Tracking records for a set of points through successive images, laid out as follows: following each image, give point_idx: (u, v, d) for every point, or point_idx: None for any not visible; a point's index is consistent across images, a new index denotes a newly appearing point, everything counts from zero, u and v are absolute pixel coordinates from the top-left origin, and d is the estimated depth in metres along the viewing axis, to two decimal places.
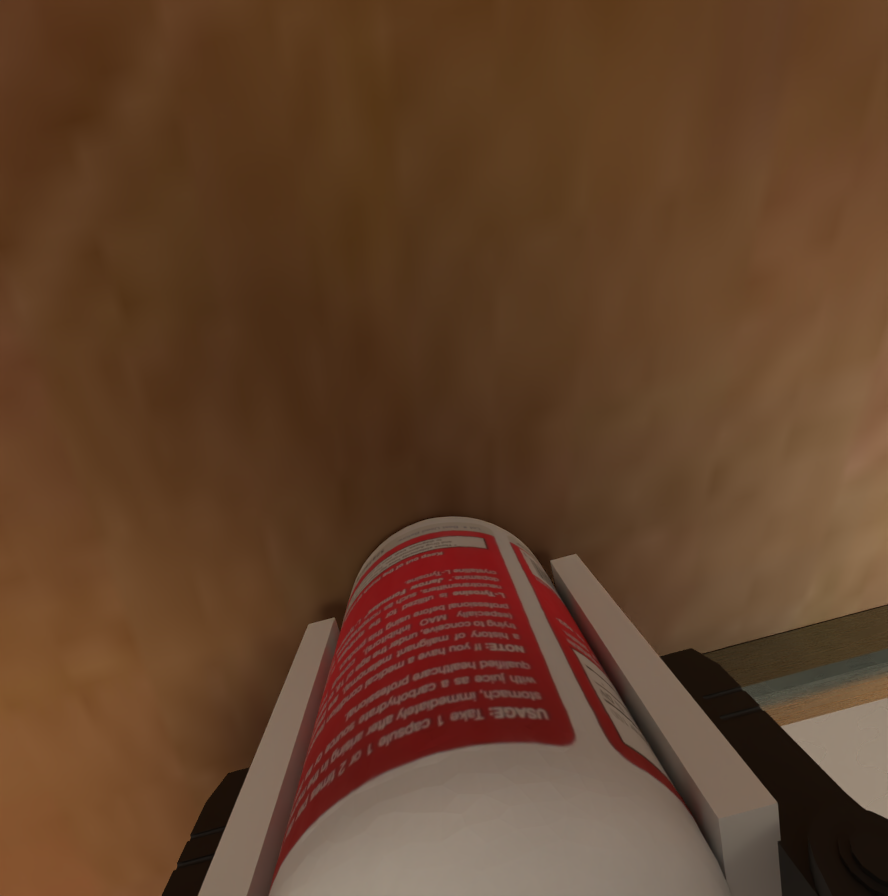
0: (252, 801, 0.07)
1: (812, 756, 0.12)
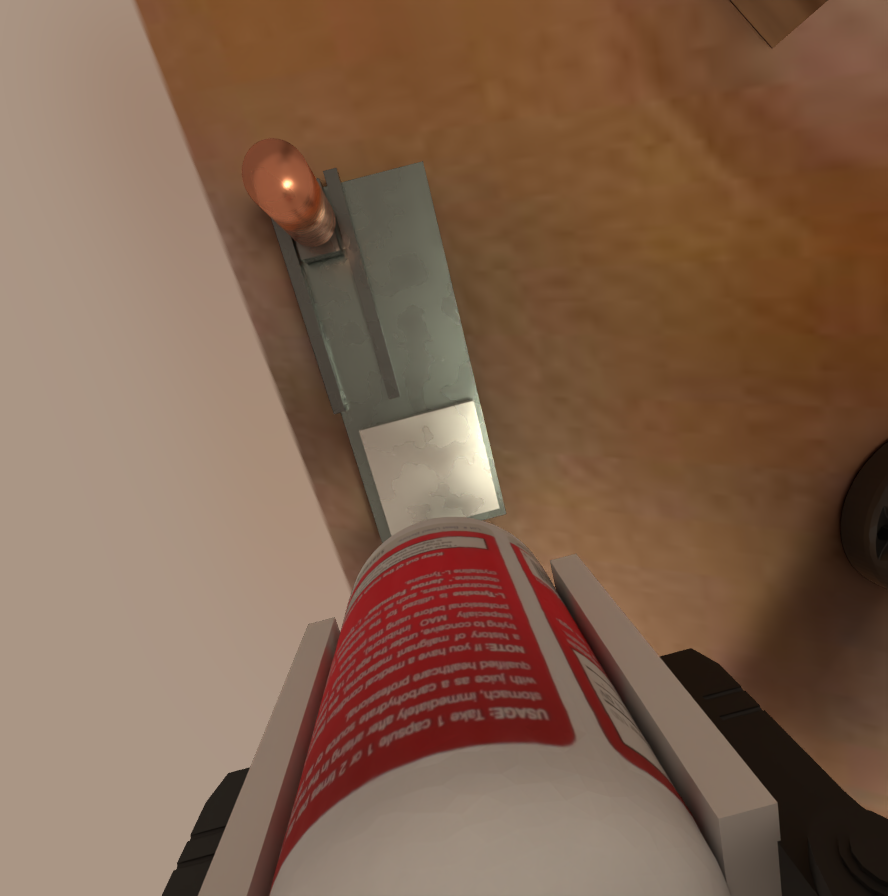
0: (252, 801, 0.07)
1: (461, 437, 0.28)
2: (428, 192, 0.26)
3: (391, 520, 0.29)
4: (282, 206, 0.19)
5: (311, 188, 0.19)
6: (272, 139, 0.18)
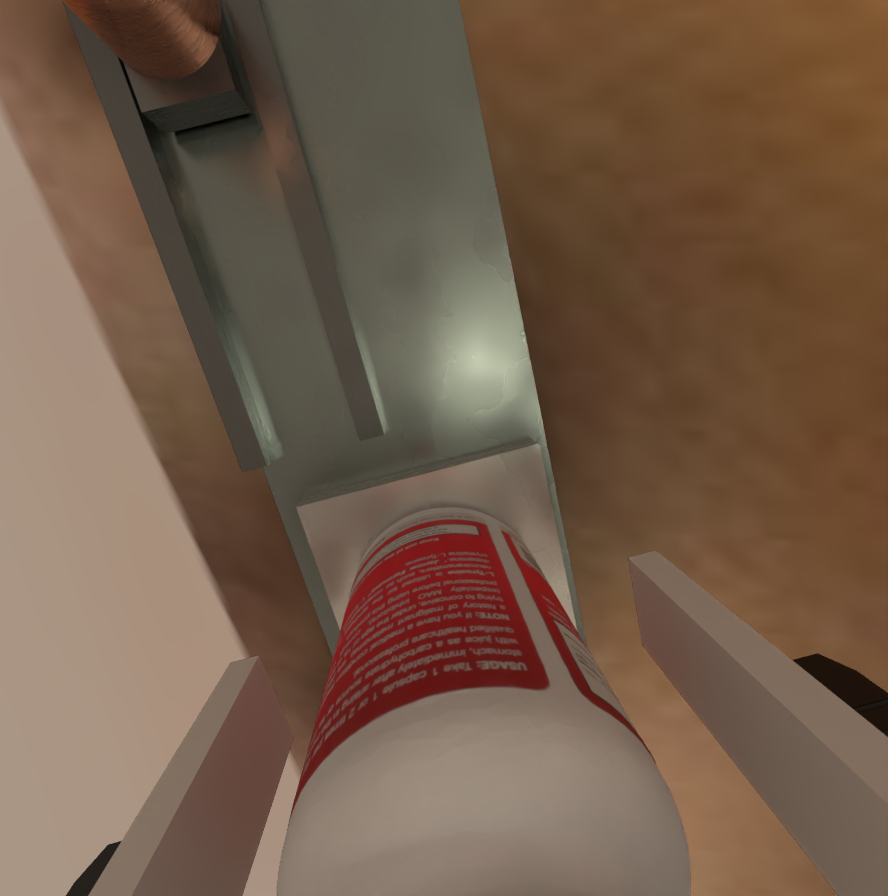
0: (106, 894, 0.06)
1: (511, 517, 0.14)
2: None
3: None
4: None
5: None
6: None
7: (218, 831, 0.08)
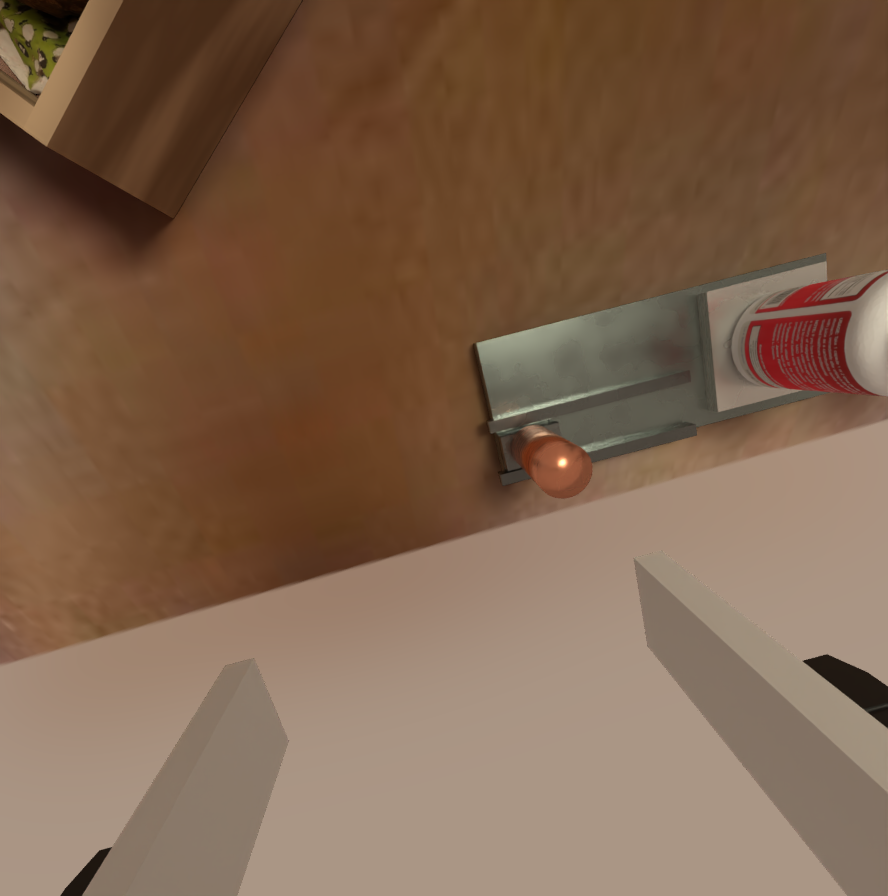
0: None
1: (741, 305, 0.27)
2: (502, 338, 0.27)
3: None
4: (587, 468, 0.22)
5: (570, 442, 0.22)
6: (537, 472, 0.21)
7: (211, 836, 0.08)
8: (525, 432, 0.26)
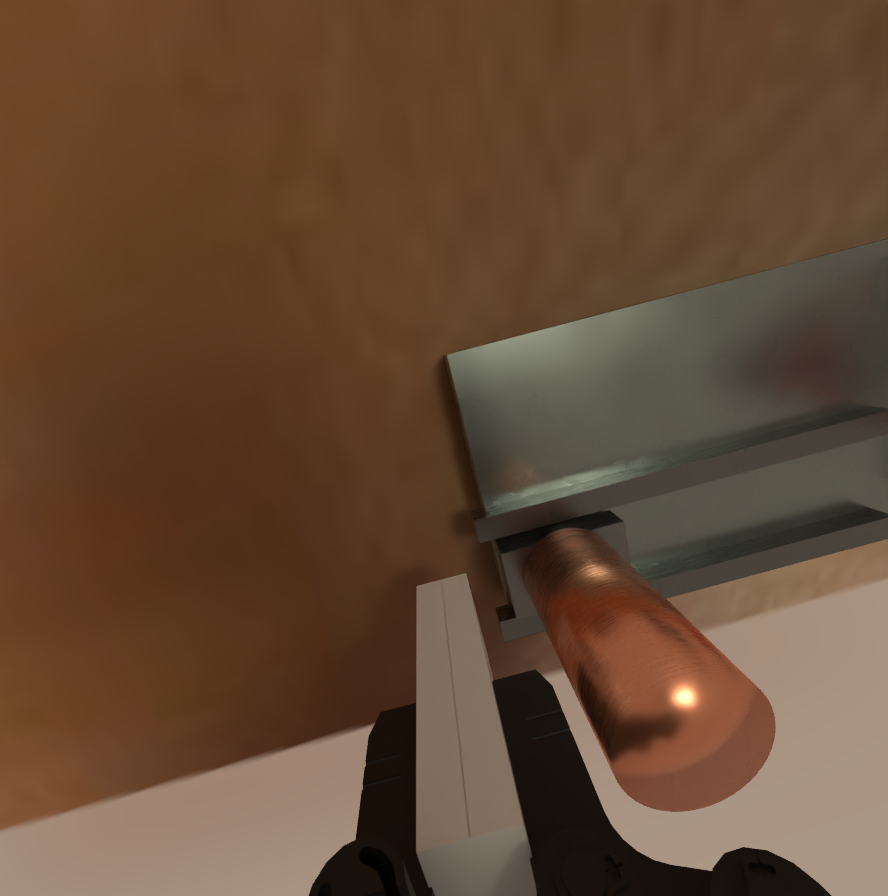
0: (433, 726, 0.07)
1: None
2: (501, 343, 0.13)
3: None
4: (761, 732, 0.07)
5: (710, 658, 0.07)
6: (613, 750, 0.07)
7: None
8: (556, 554, 0.12)
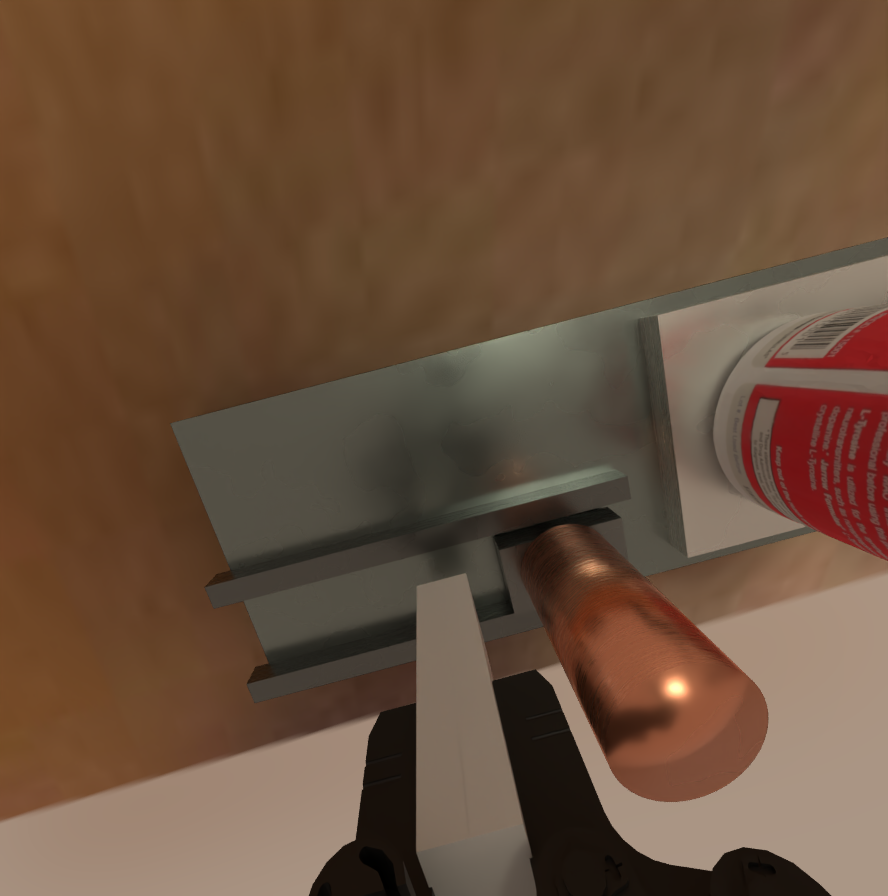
0: (433, 726, 0.07)
1: (734, 344, 0.12)
2: (226, 412, 0.13)
3: None
4: (754, 723, 0.07)
5: (704, 650, 0.07)
6: (607, 740, 0.07)
7: None
8: (554, 549, 0.12)
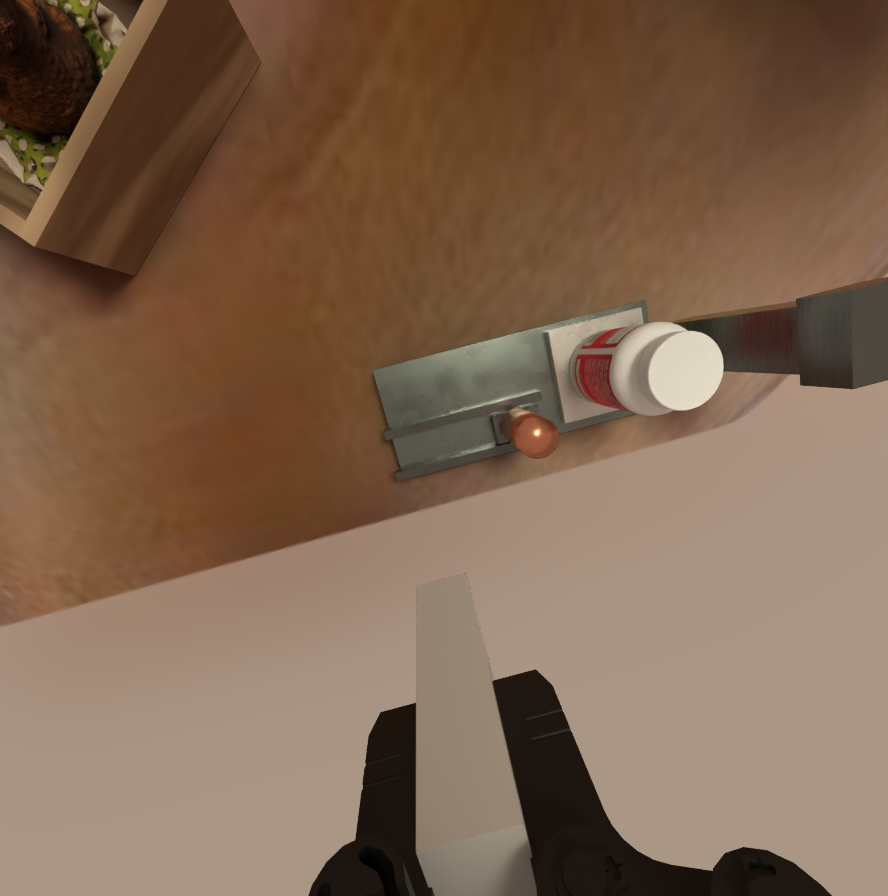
0: (433, 726, 0.07)
1: (577, 341, 0.34)
2: (392, 366, 0.35)
3: None
4: (555, 435, 0.29)
5: (543, 417, 0.29)
6: (518, 438, 0.29)
7: None
8: (511, 412, 0.34)
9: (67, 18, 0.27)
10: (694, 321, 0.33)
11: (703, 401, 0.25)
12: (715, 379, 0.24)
